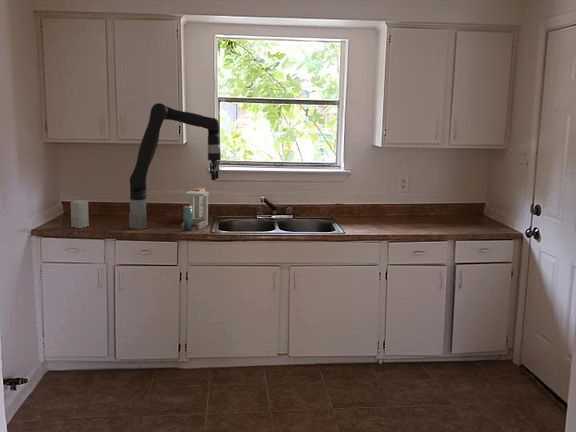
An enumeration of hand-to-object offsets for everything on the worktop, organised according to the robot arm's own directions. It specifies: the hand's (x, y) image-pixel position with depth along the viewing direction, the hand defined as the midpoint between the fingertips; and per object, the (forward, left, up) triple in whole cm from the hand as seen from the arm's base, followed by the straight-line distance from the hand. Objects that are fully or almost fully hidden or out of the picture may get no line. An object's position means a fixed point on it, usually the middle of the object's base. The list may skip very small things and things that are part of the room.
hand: (215, 179), depth 347 cm
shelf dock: (-2, +13, -30) cm, 33 cm away
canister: (-14, +9, -30) cm, 34 cm away
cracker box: (+15, +24, -30) cm, 42 cm away
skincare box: (-47, +63, -30) cm, 84 cm away
